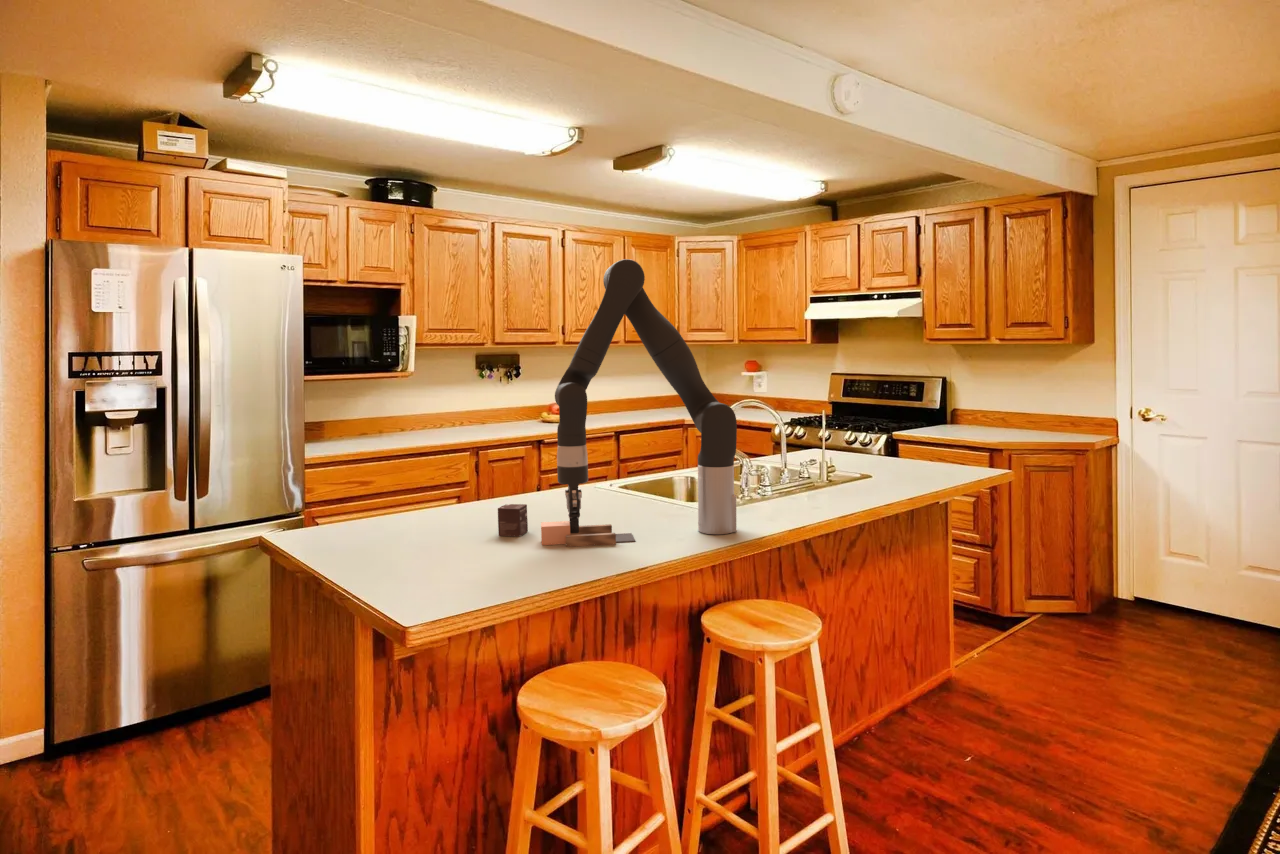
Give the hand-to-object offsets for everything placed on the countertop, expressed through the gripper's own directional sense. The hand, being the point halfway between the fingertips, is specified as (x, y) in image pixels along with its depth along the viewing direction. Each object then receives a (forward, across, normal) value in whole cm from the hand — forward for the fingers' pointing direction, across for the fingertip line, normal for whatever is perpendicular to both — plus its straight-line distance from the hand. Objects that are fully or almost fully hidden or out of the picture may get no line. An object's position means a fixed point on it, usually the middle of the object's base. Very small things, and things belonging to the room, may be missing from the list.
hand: (574, 532), depth 187 cm
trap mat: (+2, 0, -12) cm, 12 cm away
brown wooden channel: (+2, 0, -4) cm, 4 cm away
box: (+2, +11, +15) cm, 19 cm away
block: (+2, 0, +5) cm, 5 cm away
